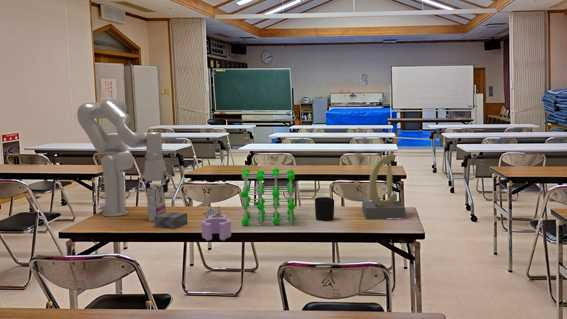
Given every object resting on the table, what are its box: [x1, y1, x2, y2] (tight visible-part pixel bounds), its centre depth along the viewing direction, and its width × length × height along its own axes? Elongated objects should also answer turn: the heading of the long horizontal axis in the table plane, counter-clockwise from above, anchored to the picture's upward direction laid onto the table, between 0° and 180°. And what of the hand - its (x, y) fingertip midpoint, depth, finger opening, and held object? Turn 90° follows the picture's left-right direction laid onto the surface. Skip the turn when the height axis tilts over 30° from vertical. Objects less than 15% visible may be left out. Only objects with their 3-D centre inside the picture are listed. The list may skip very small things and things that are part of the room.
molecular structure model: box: [240, 167, 296, 227], centre depth 293 cm, size 24×25×24 cm
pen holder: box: [314, 196, 335, 222], centre depth 295 cm, size 9×9×10 cm
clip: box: [201, 214, 232, 241], centre depth 267 cm, size 20×12×7 cm, turn 2°
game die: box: [202, 205, 222, 219], centre depth 290 cm, size 9×8×10 cm
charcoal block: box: [154, 211, 188, 230], centre depth 287 cm, size 11×11×5 cm
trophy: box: [361, 153, 406, 220], centre depth 301 cm, size 19×19×30 cm
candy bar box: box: [146, 184, 167, 222], centre depth 300 cm, size 11×5×16 cm, turn 168°
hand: (156, 192), depth 299 cm, fingers open, 9 cm apart
